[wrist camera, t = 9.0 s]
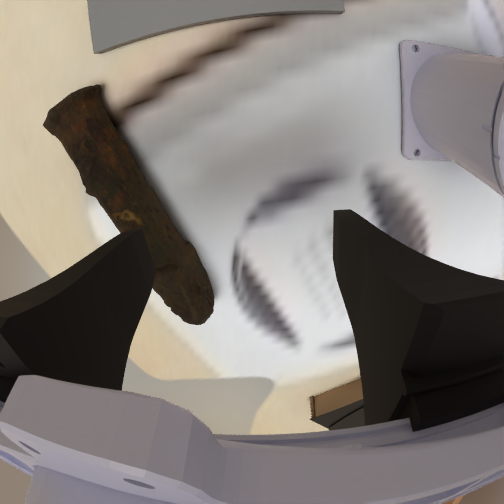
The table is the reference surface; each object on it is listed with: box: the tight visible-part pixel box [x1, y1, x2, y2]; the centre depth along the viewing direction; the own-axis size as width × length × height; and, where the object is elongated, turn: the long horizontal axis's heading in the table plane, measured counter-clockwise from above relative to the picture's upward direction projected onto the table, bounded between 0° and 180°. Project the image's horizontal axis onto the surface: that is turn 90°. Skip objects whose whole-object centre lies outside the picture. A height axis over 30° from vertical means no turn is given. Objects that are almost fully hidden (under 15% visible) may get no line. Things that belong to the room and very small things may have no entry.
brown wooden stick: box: [43, 85, 214, 325], centre depth 19 cm, size 19×4×5 cm, turn 24°
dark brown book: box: [310, 353, 504, 431], centre depth 31 cm, size 33×4×24 cm
